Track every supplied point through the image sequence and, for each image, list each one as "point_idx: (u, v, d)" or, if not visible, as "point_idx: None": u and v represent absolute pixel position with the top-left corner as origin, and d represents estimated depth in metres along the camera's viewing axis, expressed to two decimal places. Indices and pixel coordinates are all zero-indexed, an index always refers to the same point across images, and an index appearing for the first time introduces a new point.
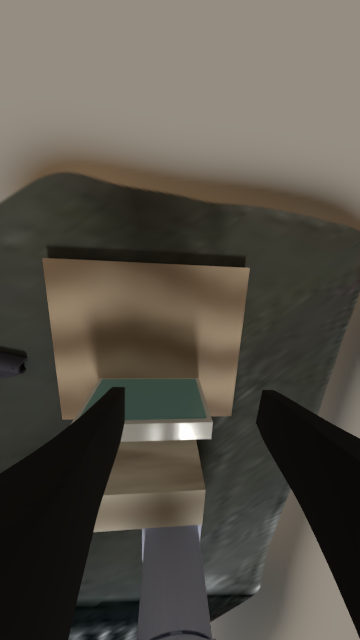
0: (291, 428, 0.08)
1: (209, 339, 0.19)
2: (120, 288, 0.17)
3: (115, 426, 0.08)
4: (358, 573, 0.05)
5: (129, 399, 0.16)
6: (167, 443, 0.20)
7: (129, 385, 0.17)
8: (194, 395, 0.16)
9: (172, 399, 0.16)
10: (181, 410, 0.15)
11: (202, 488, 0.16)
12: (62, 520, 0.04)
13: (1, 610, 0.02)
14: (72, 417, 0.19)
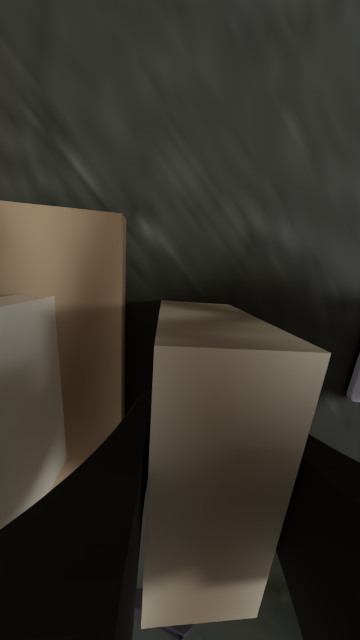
0: None
1: None
2: None
3: None
4: (304, 577, 0.05)
5: None
6: None
7: None
8: None
9: None
10: None
11: (154, 353, 0.04)
12: (136, 517, 0.04)
13: (122, 601, 0.03)
14: None
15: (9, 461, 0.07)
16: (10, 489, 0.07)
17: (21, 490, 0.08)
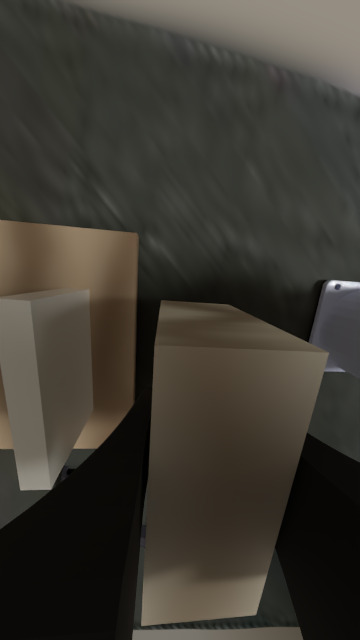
0: None
1: (0, 271, 0.13)
2: None
3: None
4: (305, 577, 0.05)
5: None
6: None
7: None
8: None
9: None
10: None
11: (155, 353, 0.04)
12: (136, 517, 0.04)
13: (122, 600, 0.03)
14: None
15: (68, 391, 0.11)
16: (68, 409, 0.11)
17: (72, 414, 0.12)
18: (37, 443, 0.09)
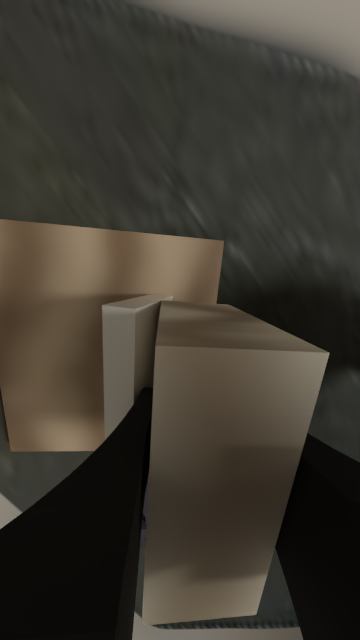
0: None
1: (91, 277, 0.13)
2: (32, 385, 0.14)
3: None
4: (304, 577, 0.05)
5: None
6: None
7: None
8: None
9: None
10: None
11: (155, 353, 0.04)
12: (136, 517, 0.04)
13: (122, 600, 0.03)
14: None
15: None
16: None
17: None
18: None
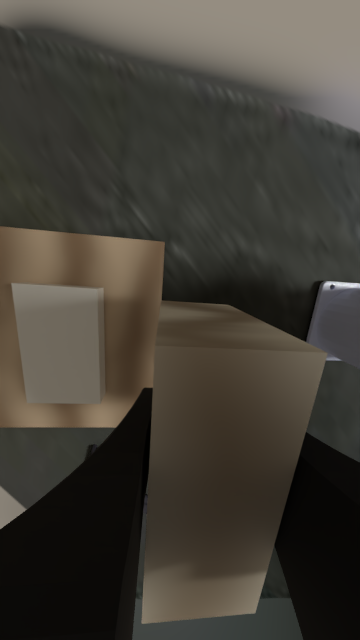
0: None
1: (50, 273, 0.15)
2: (2, 367, 0.17)
3: None
4: (304, 577, 0.05)
5: None
6: None
7: None
8: None
9: None
10: None
11: (155, 353, 0.04)
12: (136, 517, 0.04)
13: (123, 600, 0.03)
14: None
15: (52, 357, 0.15)
16: (51, 370, 0.15)
17: (57, 378, 0.16)
18: None
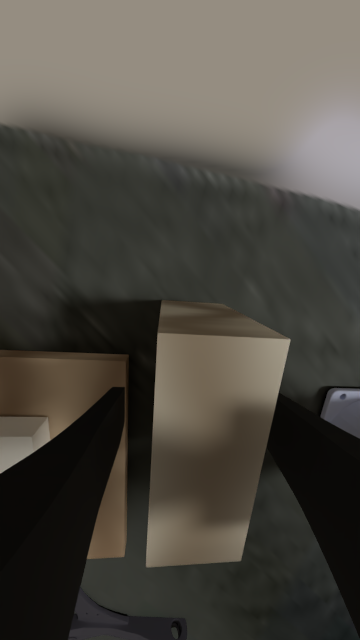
0: (291, 428, 0.08)
1: None
2: None
3: (115, 426, 0.08)
4: (358, 573, 0.05)
5: None
6: None
7: None
8: None
9: None
10: None
11: None
12: (62, 520, 0.04)
13: (1, 610, 0.02)
14: (121, 548, 0.16)
15: None
16: None
17: None
18: None
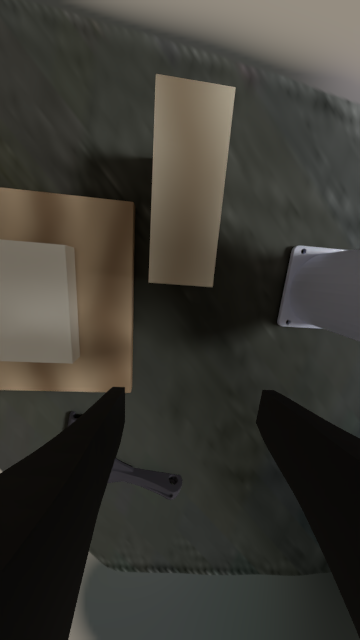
0: (291, 428, 0.08)
1: (21, 233, 0.15)
2: None
3: (115, 426, 0.08)
4: (358, 573, 0.05)
5: None
6: None
7: None
8: None
9: None
10: None
11: (156, 82, 0.09)
12: (62, 520, 0.04)
13: (1, 610, 0.02)
14: (128, 384, 0.19)
15: (23, 314, 0.15)
16: (22, 328, 0.16)
17: (29, 336, 0.16)
18: None
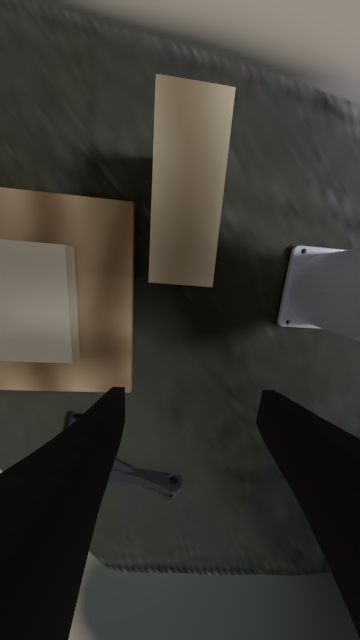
0: (291, 428, 0.08)
1: (21, 232, 0.15)
2: None
3: (115, 426, 0.08)
4: (358, 573, 0.05)
5: None
6: None
7: None
8: None
9: None
10: None
11: (156, 82, 0.09)
12: (62, 520, 0.04)
13: (1, 610, 0.02)
14: (128, 384, 0.19)
15: (23, 314, 0.15)
16: (22, 327, 0.16)
17: (29, 336, 0.16)
18: None
